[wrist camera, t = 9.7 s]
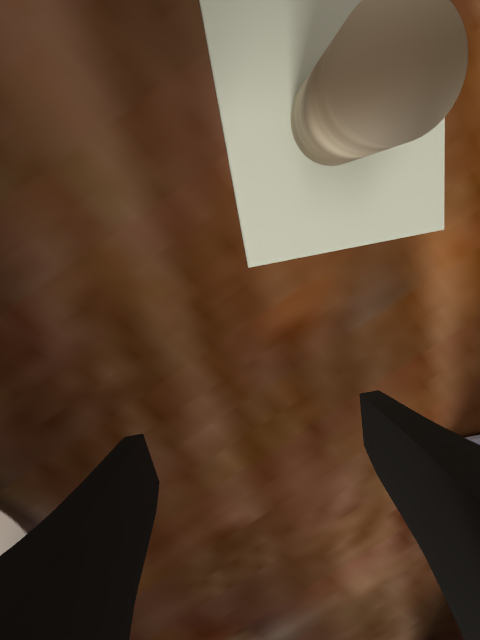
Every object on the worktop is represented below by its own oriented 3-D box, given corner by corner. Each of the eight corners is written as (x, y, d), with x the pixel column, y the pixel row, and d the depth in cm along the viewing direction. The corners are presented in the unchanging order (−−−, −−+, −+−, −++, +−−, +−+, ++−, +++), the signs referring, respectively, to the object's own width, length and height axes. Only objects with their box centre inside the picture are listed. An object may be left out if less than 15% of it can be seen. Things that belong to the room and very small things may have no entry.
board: (430, 227, 19) (444, 229, 18) (247, 263, 19) (248, 267, 18) (428, -60, 15) (445, -82, 14) (197, -10, 15) (194, -27, 14)
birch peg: (382, 154, 16) (469, 127, 11) (298, 175, 16) (340, 159, 11) (373, 55, 15) (466, -36, 9) (283, 77, 15) (320, 0, 9)
